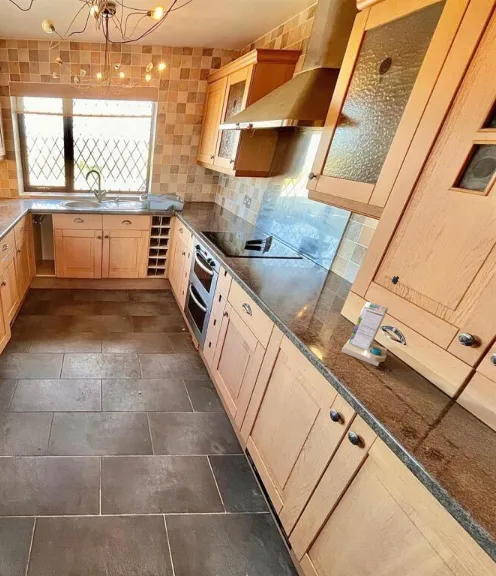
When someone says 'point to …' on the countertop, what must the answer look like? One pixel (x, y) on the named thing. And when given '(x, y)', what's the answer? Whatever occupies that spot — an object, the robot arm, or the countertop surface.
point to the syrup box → (368, 325)
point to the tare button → (376, 351)
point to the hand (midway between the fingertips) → (413, 285)
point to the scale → (365, 353)
